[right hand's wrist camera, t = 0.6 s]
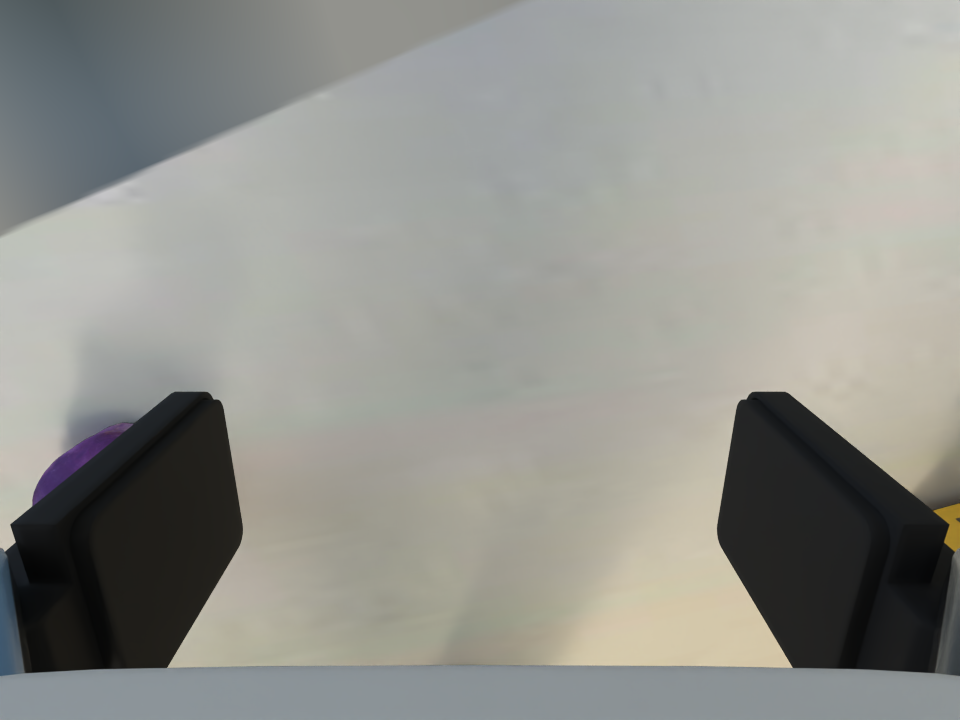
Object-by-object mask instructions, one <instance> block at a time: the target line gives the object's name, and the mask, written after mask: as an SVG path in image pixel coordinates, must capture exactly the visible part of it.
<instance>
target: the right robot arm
mask: <svg viewBox="0 0 960 720" xmlns="http://www.w3.org/2000/svg"><path fill="white" fill-rule="evenodd" d="M10 525H11V528H12V531H13V535H14V538H15V541H16V543H15V544H14V545H12V546H11V547H10V548H9V549H8V550H7V551H5V552H4V550H3V549H2V548H0V720H960V548H958V549H957V550H956V552H955V551H953V550H952V549H951V548H950V547H949V546H948V545H946V544H945V543H944V541H945V538H946V535H947V531H948V528H949V525H950V524H948V523H947V522H946V521H945V520H944V519H942V518H941V517H940V516H939V515H937V514H936V513H935V512H934V511H932V510H931V509H930V508H929V507H928V506H926V505H925V504H924V503H923V502H921V501H920V500H919V499H918V498H916V497H915V496H914V495H913V494H912V493H910V492H909V491H908V490H907V489H905V488H904V487H903V486H902V485H900V484H899V483H898V482H897V481H896V480H894V479H893V478H892V477H891V476H889V475H888V474H887V473H886V472H885V471H883V470H882V469H881V468H880V467H878V466H877V465H876V464H875V463H873V462H872V461H871V460H870V459H869V458H867V457H866V456H865V455H864V454H862V453H861V452H860V451H859V450H857V449H856V448H855V447H854V446H853V445H851V444H850V443H849V442H848V441H846V440H845V439H844V438H843V437H841V436H840V435H839V434H838V433H837V432H835V431H834V430H833V429H832V428H830V427H829V426H828V425H827V424H826V423H824V422H823V421H822V420H821V419H819V418H818V417H817V416H816V415H814V414H813V413H812V412H811V411H810V410H808V409H807V408H806V407H805V406H803V405H802V404H801V403H800V402H798V401H797V400H796V399H795V398H794V397H792V396H791V395H790V394H789V393H786V392H752V393H751V394H749V396H748V398H747V400H741V401H740V402H739V403H738V405H737V409H736V415H735V421H734V427H733V433H732V439H731V445H730V451H729V457H728V463H727V469H726V476H725V482H724V488H723V494H722V500H721V506H720V512H719V518H718V524H717V535H718V540H719V543H720V546H721V548H722V549H723V551H724V553H725V554H726V556H727V558H728V560H729V561H730V563H731V565H732V566H733V568H734V570H735V571H736V573H737V575H738V576H739V578H740V580H741V581H742V583H743V585H744V586H745V588H746V590H747V591H748V593H749V595H750V596H751V598H752V600H753V601H754V603H755V605H756V607H757V608H758V610H759V612H760V613H761V615H762V617H763V618H764V620H765V622H766V623H767V625H768V627H769V628H770V630H771V632H772V633H773V635H774V637H775V638H776V640H777V642H778V643H779V645H780V647H781V648H782V650H783V652H784V654H785V655H786V657H787V659H788V660H789V662H790V664H791V665H792V667H793V668H766V667H713V666H546V665H414V666H247V667H194V668H167V667H168V665H169V664H170V662H171V660H172V659H173V657H174V655H175V654H176V652H177V650H178V648H179V647H180V645H181V643H182V642H183V640H184V638H185V637H186V635H187V633H188V632H189V630H190V628H191V627H192V625H193V623H194V622H195V620H196V618H197V617H198V615H199V613H200V612H201V610H202V608H203V607H204V605H205V603H206V601H207V600H208V598H209V596H210V595H211V593H212V591H213V590H214V588H215V586H216V585H217V583H218V581H219V580H220V578H221V576H222V575H223V573H224V571H225V570H226V568H227V566H228V565H229V563H230V561H231V560H232V558H233V556H234V554H235V553H236V551H237V549H238V548H239V546H240V543H241V540H242V535H243V524H242V518H241V512H240V506H239V500H238V494H237V488H236V482H235V476H234V469H233V463H232V457H231V451H230V445H229V439H228V433H227V427H226V421H225V415H224V409H223V405H222V403H221V402H220V401H219V400H213V398H212V396H211V394H209V393H208V392H174V393H171V394H170V395H169V396H168V397H166V398H165V399H164V400H163V401H162V402H160V403H159V404H158V405H157V406H155V407H154V408H153V409H152V410H150V411H149V412H148V413H147V414H146V415H144V416H143V417H142V418H141V419H139V420H138V421H137V422H136V423H134V424H133V425H132V426H131V427H130V428H128V429H127V430H126V431H125V432H123V433H122V434H121V435H120V436H119V437H117V438H116V439H115V440H114V441H112V442H111V443H110V444H109V445H107V446H106V447H105V448H104V449H103V450H101V451H100V452H99V453H98V454H96V455H95V456H94V457H93V458H91V459H90V460H89V461H88V462H87V463H85V464H84V465H83V466H82V467H80V468H79V469H78V470H77V471H75V472H74V473H73V474H72V475H71V476H69V477H68V478H67V479H66V480H64V481H63V482H62V483H61V484H60V485H58V486H57V487H56V488H55V489H53V490H52V491H51V492H50V493H48V494H47V495H46V496H45V497H44V498H42V499H41V500H40V501H39V502H37V503H36V504H35V505H34V506H32V507H31V508H30V509H29V510H28V511H26V512H25V513H24V514H23V515H21V516H20V517H19V518H18V519H16V520H15V521H14V522H13V523H12V524H10Z"/></svg>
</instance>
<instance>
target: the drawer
mask: <svg viewBox="0 0 960 720" xmlns="http://www.w3.org/2000/svg"><path fill="white" fill-rule="evenodd" d="M933 511H934V512H935V513H936V514H937V515H939V516H940V517H941V518H942V519H944V520H945V521H946V522H947V523H948V524H950V525H949V528H948V531H947V535H946V538H945V541H944V543H945V544H946V545H948V546H949V547H950V548H951V549H952V550H953V551H955V552H956V550H957V549H958V548H960V503H959V504H955V505H951V506H948V507H944V508H940V509H937V510H933Z"/></svg>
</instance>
